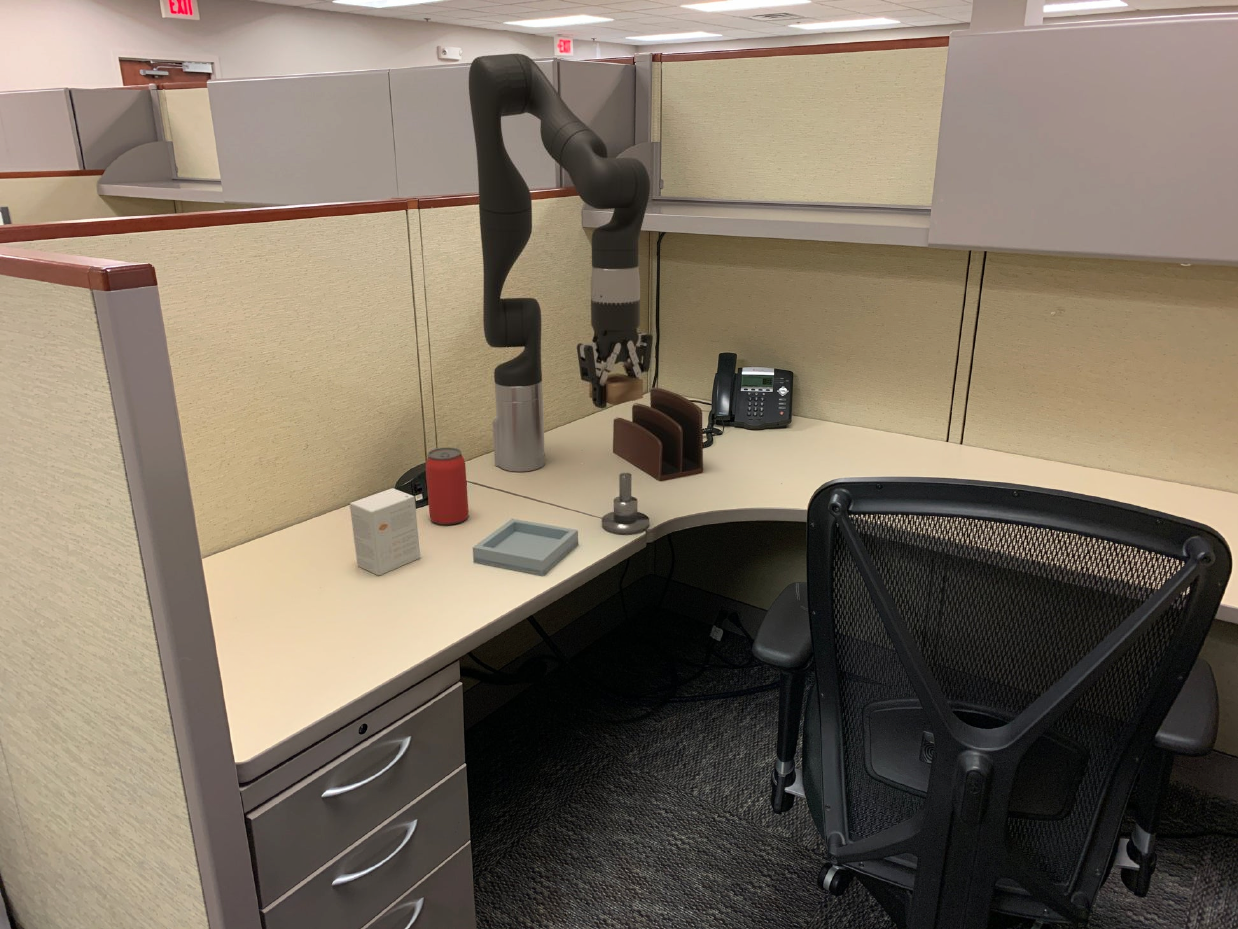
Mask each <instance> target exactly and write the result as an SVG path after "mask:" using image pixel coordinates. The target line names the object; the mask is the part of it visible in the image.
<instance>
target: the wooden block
mask: <svg viewBox="0 0 1238 929" xmlns="http://www.w3.org/2000/svg"><path fill="white" fill-rule="evenodd" d="M588 383H589V384H588V386H589V388H588V390H589V393H588V394H589V398H590V399H592V384H591V383H590V382H588ZM605 385H606V403H607V404H609V405H613V406H616V405H617V406H618V405H620V404H625V403H629V402H634V401H633V400H635V401H637V400H640V399H643V398H644V379H642V378H640V377H639V378H635V377H631V376H627V374H623V373H620V372H616V373H610V374H608V377H607V380H606V383H605Z"/></svg>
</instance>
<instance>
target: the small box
mask: <svg viewBox="0 0 1238 929" xmlns="http://www.w3.org/2000/svg"><path fill="white" fill-rule="evenodd" d="M349 508H350V517H351V523H352V525H351V526H352V532H353V533H352V535H353V540H354V541H353V542H354V551H355V557H356V564H357V566H358V568H361V569H364V570H365V571H368V572H369V573H373V574H374V575H377V576H382V575H384V574H386V573H389V572H391V571H393V570H395V569H398V568H400V567H402V566H404V565H407V564H409V563H412V562H414V561H416V560H419V559H420V558H421V548H420V538H419V531H418V528H419V527H418V519H417V509H416V498H415V496H414V495H412V494H409V493H406V492H404V491H401V490H398V489H396V488H393V487H392V488H389V489H386V490H383V491H380V492H378V493H374V494H372V495H369V496H366V497H364V498H360V499H358V500H355V501H352V502H350V503H349Z"/></svg>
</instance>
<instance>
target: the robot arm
mask: <svg viewBox="0 0 1238 929" xmlns="http://www.w3.org/2000/svg"><path fill="white" fill-rule="evenodd" d="M468 95H469V104H470V111H471V112H470V113H471V118H472V126H473V133H474V140H475V141H474V143H475V148H476V150H475V151H476V160H477V161H476V164H477V180H478V209H479V210H478V213H479V227H480V241H481V253H482V264H483V266H482V267H483V294H482V295H483V297H482V298H483V304H482V305H483V306H482V308H483V309H482V310H483V314H482V315H483V316H482V317H483V320H482V321H483V322H482V323H483V332H484V338H485V341H486V343H487V345H488V346H489V347H491V348H496V349H497V348H499V349H500V348H522V347H523V348H524V349H523V351H522V352H521V353H520V354H519V355H517V356H516V357H514V358H512V359H510V360H507V361H505V362H503V363H500V364H498V365H497V366H496V367H495V368H494V372H493V376H494V378H493V380H494V394H495V395H494V396H495V397H494V398H495V414H496V418H494V419H493V420H492V435H493V436H492V438H493V440H492V441H493V455H494V458H493V459H494V466H496V467H499V468H501V469H503V470H505V471H509V472H529V471H534V470H538V469H541V468H543V467H544V466H545V465H546V452H545V426H544V425H545V424H544V423H545V422H544V396H543V394H544V393H543V373H542V372H543V371H542V313H541V312H542V310H541V306H540V304H539V301H538V300H537V299H536V298H533V297H509V298H507V297H505V298H501V296H502V292H503V288H504V285H505V282H506V279H507V277H508V275H509V274H510V271H511V269H512V268H513V266H514V264H515V263H516V261H517V260H518V259H519V258H520V255H521V254H522V253H523V251H524V249H525V248H526V246H527V244H528V243H529V241H530V238H531V235H532V232H533V206H532V205H533V204H532V194H531V191H530V188H529V186H528V185H527V182H526V181H525V179H524V177H523V175H522V174H521V173H520V171H519V170H518V168H517V167H516V165H515V163H514V162H513V160H512V159H511V157H510V155H509V153H508V151H507V148H506V145H505V142H504V137H503V131H502V130H503V129H502V117H508V116H510V117H511V116H516V115H518V116H519V115H524V114H527V113H528V114H530V115H532V116H533V117H536V118H537V119H538V120H540V132H539V133H540V138H541V143H542V145H543V147H544V148H545V150H546V152H547V153H548V155H549V156H550V157H551V158H552V159H553V160H554V161H555V162H556V163H557V164H558V165H559V166H560V167H561V168H562V169H563V170H565V171H566V173H568V175H569V177H570V180H571V181H572V182H571V183H572V184H573V186H574V188H575V189H576V192H577V194H578V196H579V198H580V199H581V200H582V201H583V203H585V204H586V205H588V206H590V207H591V208H594V209H597V210H609V209H611V210H612V209H613V213H612V215H611V219H610V221H609V222H608V223H606V224H604V225H601V226H598V227H596V228H595V229H594V230H593V231H592V235H591V275H590V325H591V327H592V329H593V336H592V339H591V341H589V342H587V343H580V342H579V343H577V345H576V352H577V358H578V366H579V373H580V379H581V381H584V382H587V383H589V382H590V383H591V384H592V398H591V401H592V404H593V405H594V406H595V407H596V408H598V409H606V408H607V404H608V403H606V385H605V383H606V380H607V377H608V375H610V374H609V373H611V372H612V371H613V369H614V366H615V365H617V364H619V363H620V364H621V365H622V366H623V369H624V372H625V375H627V376H631V377H635V378H639V379H640V378H641V376H642V374H643V373H645V372H647V373H648V372H649V370H650V366H651V358H652V356H651V355H652V346H653V341H654V340H653V338H654V337H653V335H652V334H650V333H645V332H638V330H637V329H638V328H639V327H640V325H641V278H640V272H639V239H640V234H641V230H642V228H643V224H644V219H645V215H646V211H647V207H648V204H649V199H650V193H651V192H650V191H651V181H650V175H649V173H648V171H647V168H646V166H645V165H644V164H643V162H642V161H641V160H639V159H638V158H633V157H611V158H610V157H608V156H609V155H608V148H607V146H606V143H605V142H604V141H603V139H601V137H600V136H599V135H598V134H597V133H595V131H593V129H591V128H590V127H589V126H588V125H586V123H585V122H584V121H583V120H581V119H580V118H578V116H577V115H575V113H573V111H572V110H571V109H570V108H569V107H568V105H567V104H566V103H565V101H564V100H563V98H562V96H561V95H560V94H559V92H558V91H557V90H556V88H555V87H554V85H553V83H551V81H550V80H549V79H548V77H547V76H546V74H545V73H544V72H543V71H542V69H541V68H540V67H539V65H538V64H537V63H536V62H535V61H534V60H533V59H532V58H531V57H530V56H528V55H525V54H523V53H506V54H505V53H504V54H503V53H502V54H491V55H490V54H489V55H482V56H481V55H480V56H477V57H475V58H474V59H473V60H472V61H471V64H470V66H469V72H468ZM602 362H603V363H604V364H602ZM635 401H636V400H633V401H632V402H635Z"/></svg>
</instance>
